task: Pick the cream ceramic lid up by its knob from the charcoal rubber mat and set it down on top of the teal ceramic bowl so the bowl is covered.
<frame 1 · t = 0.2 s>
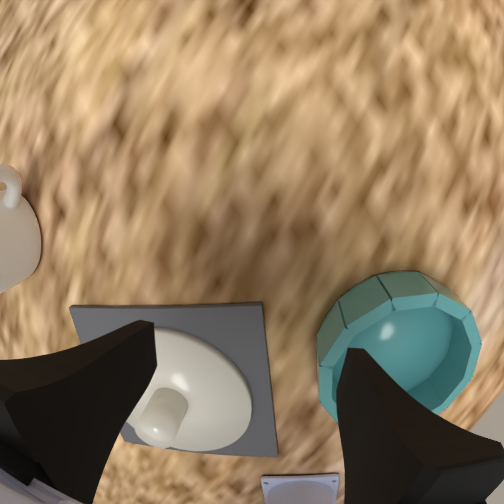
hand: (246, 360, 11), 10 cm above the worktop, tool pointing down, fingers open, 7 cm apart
bowl: (390, 342, 21), on the worktop
mat: (176, 390, 25), on the worktop
mug: (22, 217, 22), on the worktop
lid: (174, 394, 24), resting on mat
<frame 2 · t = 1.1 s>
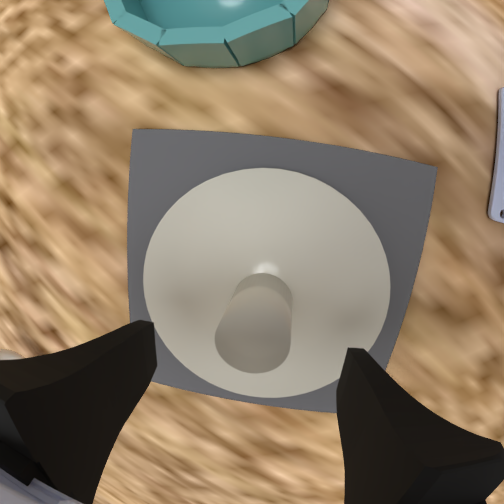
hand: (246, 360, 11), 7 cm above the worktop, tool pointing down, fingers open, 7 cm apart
mat: (265, 289, 17), on the worktop
lid: (264, 293, 17), resting on mat
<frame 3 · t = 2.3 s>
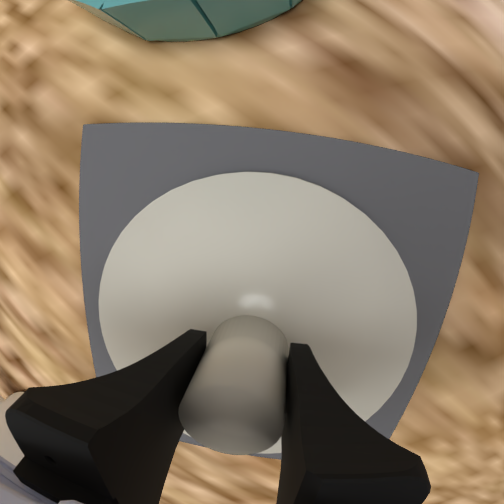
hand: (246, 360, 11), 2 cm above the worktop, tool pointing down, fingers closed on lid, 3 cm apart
mat: (253, 330, 13), on the worktop
mug: (35, 410, 18), on the worktop
lid: (252, 336, 13), resting on mat, touching gripper
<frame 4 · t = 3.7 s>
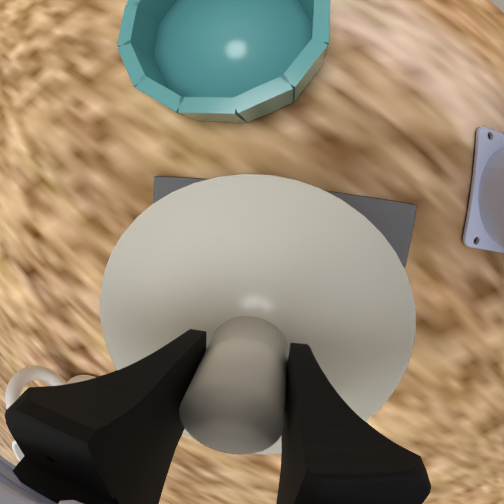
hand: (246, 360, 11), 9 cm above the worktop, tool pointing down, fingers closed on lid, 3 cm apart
bowl: (232, 39, 16), on the worktop
mat: (272, 310, 21), on the worktop
mug: (91, 390, 26), on the worktop
lid: (252, 337, 13), point 8 cm above the worktop, touching gripper
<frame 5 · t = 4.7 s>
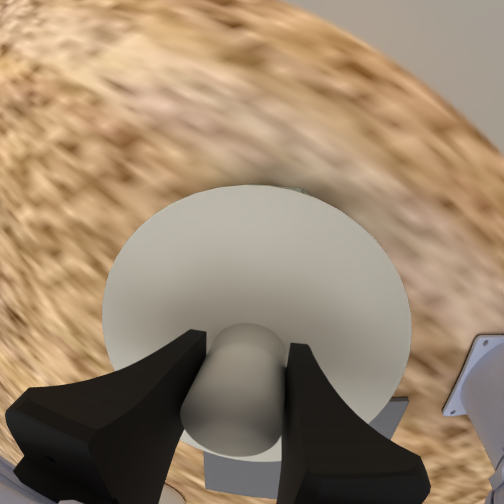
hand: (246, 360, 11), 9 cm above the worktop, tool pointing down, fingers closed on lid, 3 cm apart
mat: (293, 456, 24), on the worktop
mug: (144, 482, 29), on the worktop
lid: (251, 345, 13), point 7 cm above the worktop, touching gripper
when the fingers open (7 cm above the worktop, at t = 5.2 s): lid drops 2 cm, resting on bowl.
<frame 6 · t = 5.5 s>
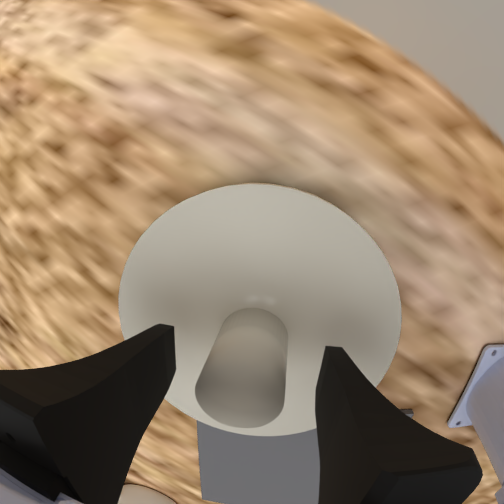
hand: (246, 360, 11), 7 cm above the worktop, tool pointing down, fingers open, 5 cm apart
mat: (292, 468, 23), on the worktop
mug: (139, 491, 28), on the worktop
lid: (256, 327, 15), point 4 cm above the worktop, touching bowl
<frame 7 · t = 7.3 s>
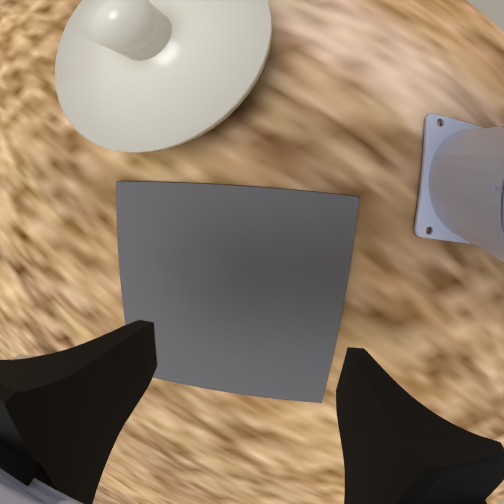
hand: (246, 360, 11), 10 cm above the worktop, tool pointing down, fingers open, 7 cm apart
mat: (225, 301, 22), on the worktop
lid: (153, 41, 14), point 4 cm above the worktop, touching bowl
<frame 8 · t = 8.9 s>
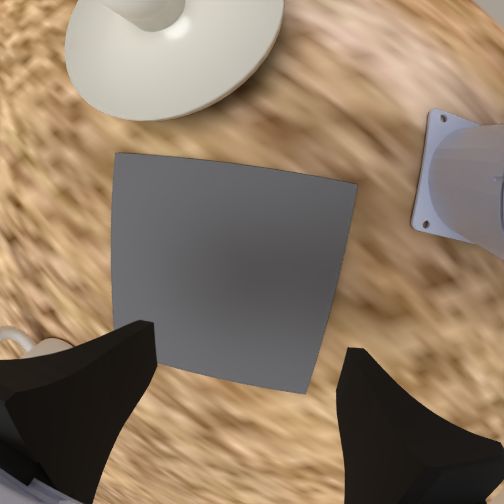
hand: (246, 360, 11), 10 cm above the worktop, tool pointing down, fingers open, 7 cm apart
mat: (215, 281, 22), on the worktop
mug: (59, 354, 27), on the worktop
lid: (165, 15, 14), point 4 cm above the worktop, touching bowl
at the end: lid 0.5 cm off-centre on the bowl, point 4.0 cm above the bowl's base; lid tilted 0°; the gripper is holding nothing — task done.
